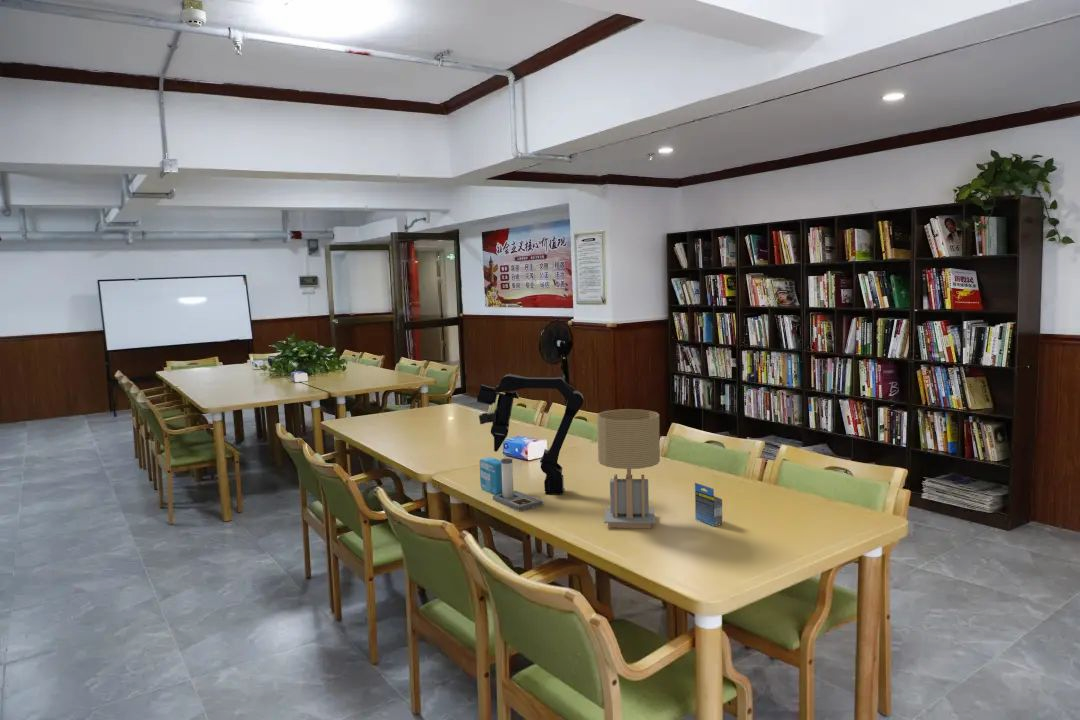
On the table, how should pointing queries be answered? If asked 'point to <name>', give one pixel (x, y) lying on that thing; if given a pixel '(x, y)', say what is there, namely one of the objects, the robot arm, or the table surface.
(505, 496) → the white cylinder with cap
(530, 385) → the robot arm
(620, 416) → the desk lamp
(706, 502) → the label tape cartridge
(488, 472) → the blue box
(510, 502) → the jack panel
